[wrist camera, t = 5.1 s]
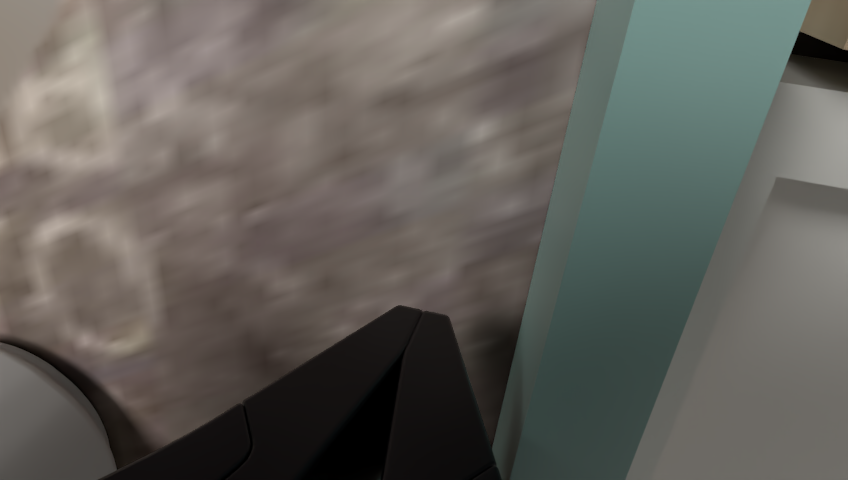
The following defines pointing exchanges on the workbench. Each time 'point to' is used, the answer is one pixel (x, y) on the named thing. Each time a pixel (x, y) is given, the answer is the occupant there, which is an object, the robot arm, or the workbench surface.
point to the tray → (690, 258)
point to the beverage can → (47, 424)
